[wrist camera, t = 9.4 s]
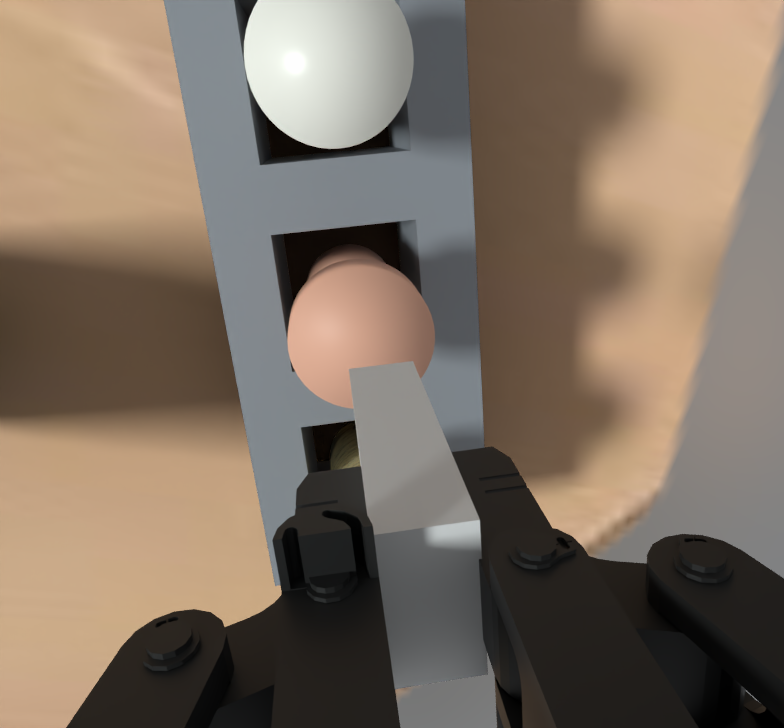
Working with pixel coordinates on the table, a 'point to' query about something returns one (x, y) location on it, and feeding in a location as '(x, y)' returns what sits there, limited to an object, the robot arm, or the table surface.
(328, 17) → the white rounded piece
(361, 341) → the pink rounded piece
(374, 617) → the robot arm
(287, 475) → the block
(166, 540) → the table surface
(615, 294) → the table surface
